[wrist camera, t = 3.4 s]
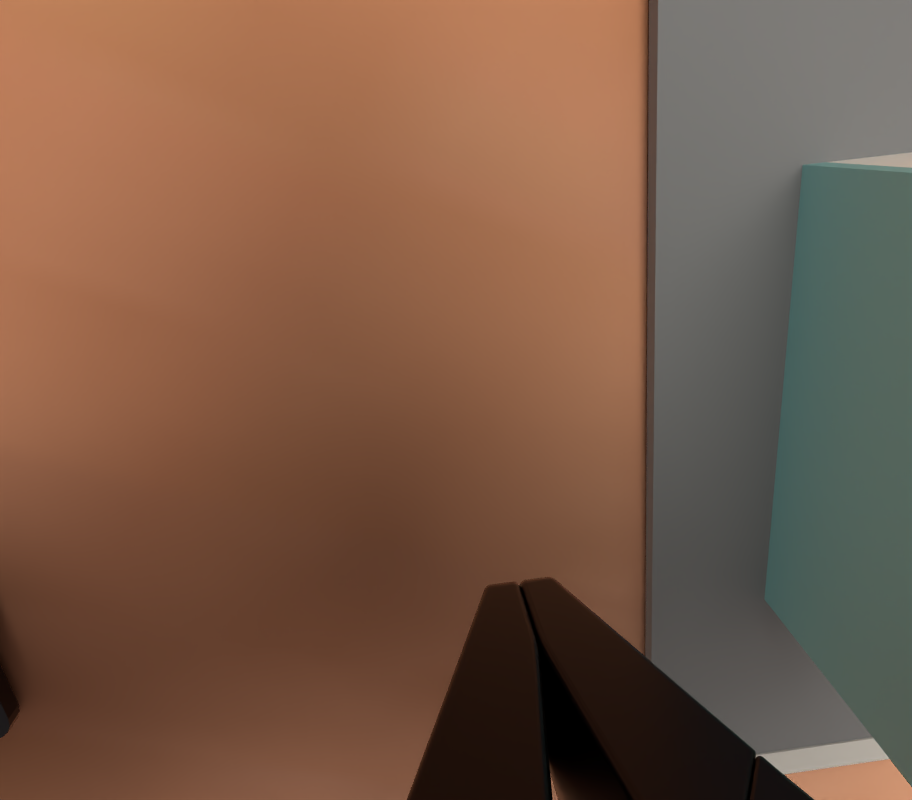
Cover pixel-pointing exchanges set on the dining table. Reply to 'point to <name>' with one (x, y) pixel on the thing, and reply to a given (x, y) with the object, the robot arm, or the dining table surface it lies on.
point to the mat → (744, 332)
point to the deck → (850, 443)
